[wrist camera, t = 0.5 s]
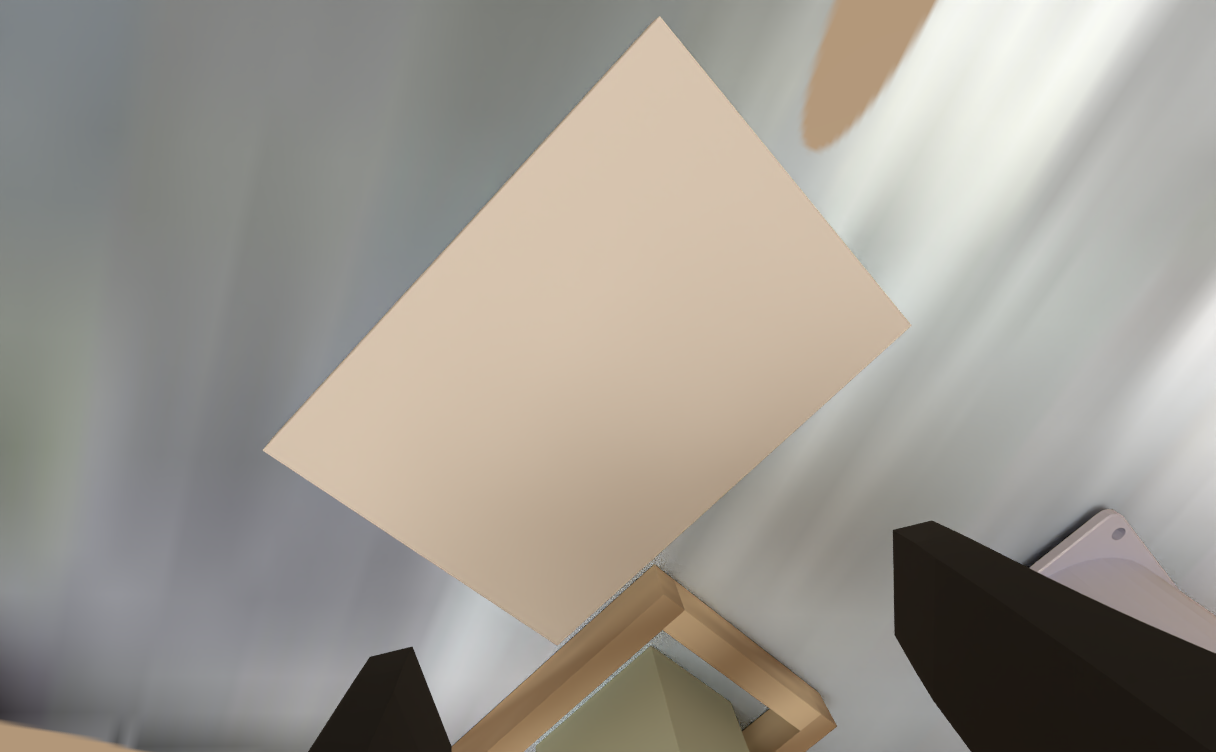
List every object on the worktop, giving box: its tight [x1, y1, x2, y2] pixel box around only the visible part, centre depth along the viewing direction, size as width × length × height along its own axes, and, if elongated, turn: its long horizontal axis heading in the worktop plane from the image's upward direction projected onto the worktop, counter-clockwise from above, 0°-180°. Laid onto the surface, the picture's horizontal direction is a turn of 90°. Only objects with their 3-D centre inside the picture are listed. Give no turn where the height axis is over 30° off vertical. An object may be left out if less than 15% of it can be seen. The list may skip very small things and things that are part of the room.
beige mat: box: [263, 17, 911, 645], centre depth 18 cm, size 11×15×1 cm
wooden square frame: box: [452, 565, 837, 752], centre depth 23 cm, size 10×11×2 cm
